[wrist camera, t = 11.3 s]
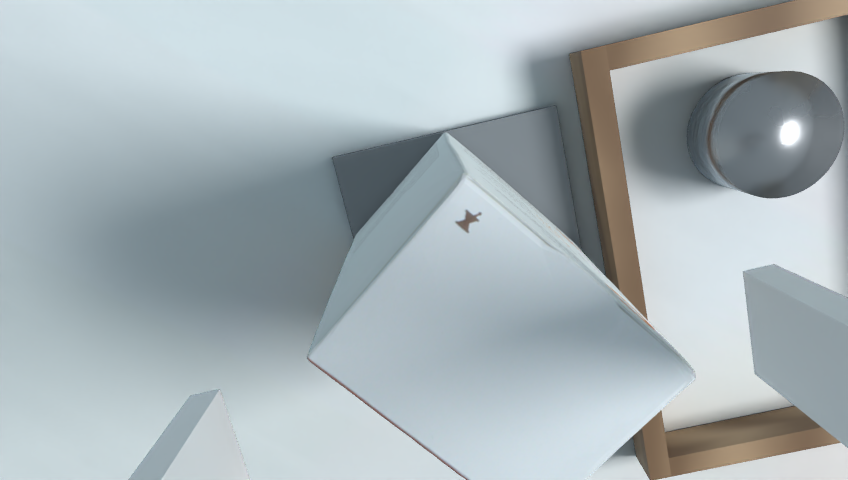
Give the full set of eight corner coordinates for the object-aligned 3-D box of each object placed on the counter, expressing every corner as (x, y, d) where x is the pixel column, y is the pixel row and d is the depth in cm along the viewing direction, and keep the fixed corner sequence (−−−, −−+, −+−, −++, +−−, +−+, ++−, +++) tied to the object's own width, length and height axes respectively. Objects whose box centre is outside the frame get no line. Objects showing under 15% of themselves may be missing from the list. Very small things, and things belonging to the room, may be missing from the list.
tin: (692, 197, 28) (723, 209, 25) (680, 86, 27) (711, 85, 24) (802, 174, 28) (847, 184, 25) (795, 62, 27) (840, 58, 24)
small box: (352, 236, 28) (295, 357, 15) (444, 128, 27) (465, 163, 14) (485, 343, 29) (534, 539, 17) (579, 245, 28) (708, 373, 15)
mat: (386, 359, 30) (386, 362, 29) (333, 157, 27) (332, 157, 27) (591, 315, 29) (593, 318, 29) (554, 105, 27) (556, 105, 27)
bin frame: (636, 456, 31) (650, 480, 29) (569, 53, 26) (580, 50, 25) (917, 399, 30) (951, 420, 28) (899, -25, 26) (938, -34, 24)
